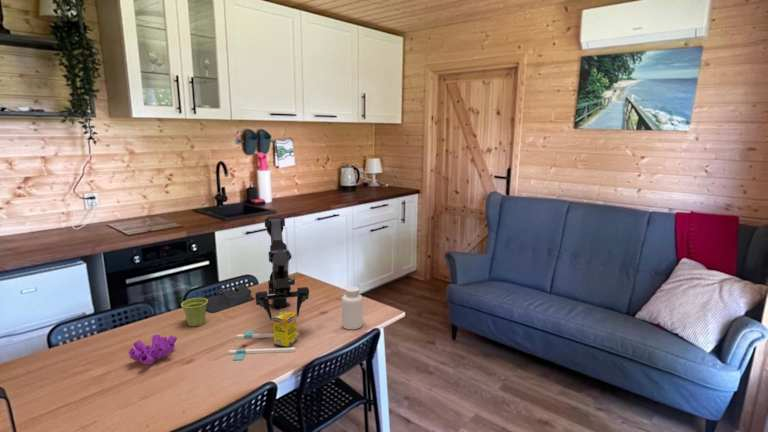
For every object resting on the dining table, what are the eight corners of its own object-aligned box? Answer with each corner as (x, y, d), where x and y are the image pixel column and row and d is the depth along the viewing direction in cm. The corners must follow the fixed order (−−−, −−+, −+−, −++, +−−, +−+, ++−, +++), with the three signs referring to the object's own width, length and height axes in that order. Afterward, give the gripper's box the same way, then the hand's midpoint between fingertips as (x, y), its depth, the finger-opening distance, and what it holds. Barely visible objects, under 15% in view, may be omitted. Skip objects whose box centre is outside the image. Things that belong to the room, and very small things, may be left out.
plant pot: (177, 326, 162) (175, 305, 160) (196, 316, 171) (194, 296, 169) (196, 330, 159) (194, 309, 157) (214, 320, 167) (213, 299, 166)
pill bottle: (366, 323, 166) (366, 287, 163) (356, 331, 159) (356, 294, 156) (348, 319, 169) (348, 283, 166) (338, 327, 162) (337, 290, 159)
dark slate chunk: (193, 305, 182) (192, 295, 181) (239, 291, 199) (239, 281, 198) (211, 315, 172) (210, 304, 171) (258, 299, 189) (257, 289, 188)
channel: (225, 360, 138) (225, 357, 138) (240, 332, 158) (240, 329, 158) (293, 357, 140) (293, 354, 140) (299, 329, 160) (299, 327, 160)
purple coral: (129, 375, 136) (120, 347, 138) (176, 356, 147) (167, 331, 149) (138, 366, 129) (128, 337, 131) (187, 347, 140) (177, 320, 142)
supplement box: (288, 349, 146) (287, 319, 144) (273, 345, 148) (272, 316, 146) (297, 341, 152) (296, 312, 149) (283, 338, 154) (282, 310, 151)
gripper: (254, 270, 148) (256, 312, 140) (307, 265, 154) (312, 306, 146) (255, 284, 157) (257, 324, 149) (305, 279, 163) (310, 318, 155)
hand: (284, 318), depth 149 cm, fingers open, 9 cm apart
